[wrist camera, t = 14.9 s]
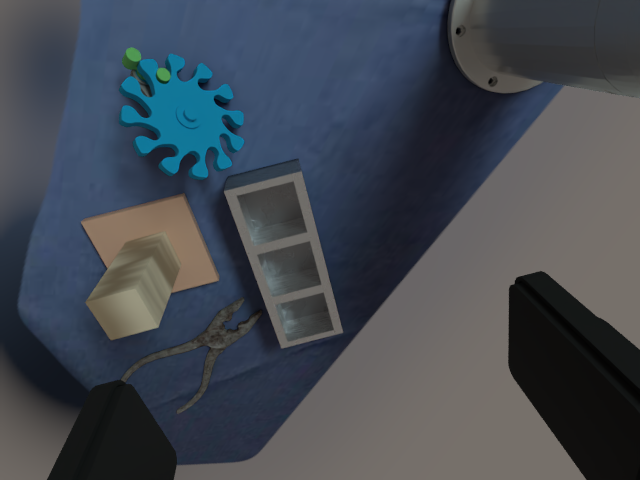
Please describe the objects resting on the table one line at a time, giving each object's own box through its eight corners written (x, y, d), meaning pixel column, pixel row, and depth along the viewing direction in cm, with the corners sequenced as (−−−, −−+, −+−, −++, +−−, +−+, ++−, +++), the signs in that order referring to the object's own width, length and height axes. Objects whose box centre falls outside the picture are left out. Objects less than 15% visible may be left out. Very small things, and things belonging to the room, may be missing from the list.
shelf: (298, 158, 38) (301, 171, 35) (337, 310, 47) (343, 332, 44) (227, 176, 38) (223, 191, 35) (280, 325, 47) (281, 348, 44)
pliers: (112, 394, 48) (186, 274, 42) (114, 388, 49) (187, 270, 43) (186, 417, 52) (265, 310, 45) (187, 412, 53) (265, 306, 46)
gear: (269, 136, 35) (186, 201, 30) (239, 155, 40) (162, 215, 34) (186, 18, 32) (75, 68, 26) (164, 55, 36) (65, 103, 31)
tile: (184, 193, 38) (182, 195, 38) (219, 276, 43) (218, 280, 42) (84, 218, 38) (80, 222, 38) (130, 299, 43) (128, 304, 42)
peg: (165, 230, 39) (135, 288, 30) (181, 264, 41) (158, 327, 32) (126, 241, 39) (85, 302, 30) (144, 274, 41) (110, 340, 32)
